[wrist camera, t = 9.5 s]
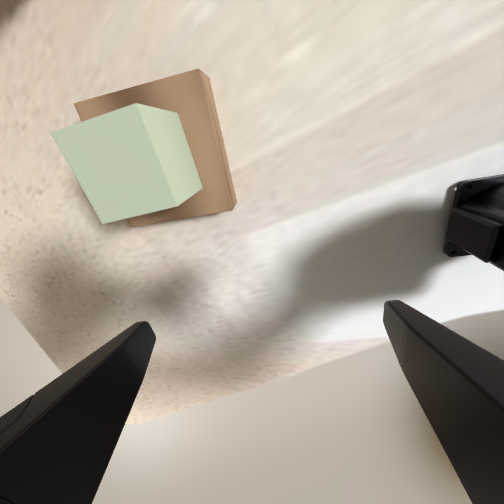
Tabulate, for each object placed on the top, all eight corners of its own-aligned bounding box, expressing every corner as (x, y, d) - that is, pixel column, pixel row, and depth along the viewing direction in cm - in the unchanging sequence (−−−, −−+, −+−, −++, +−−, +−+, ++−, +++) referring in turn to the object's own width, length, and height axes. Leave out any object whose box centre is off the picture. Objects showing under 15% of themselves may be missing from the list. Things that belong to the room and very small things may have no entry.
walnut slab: (211, 79, 16) (198, 68, 14) (237, 200, 20) (232, 210, 18) (103, 108, 18) (73, 103, 15) (148, 215, 22) (130, 227, 19)
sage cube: (177, 112, 15) (136, 103, 10) (202, 188, 17) (177, 206, 12) (113, 133, 16) (50, 132, 11) (145, 202, 18) (102, 224, 13)
